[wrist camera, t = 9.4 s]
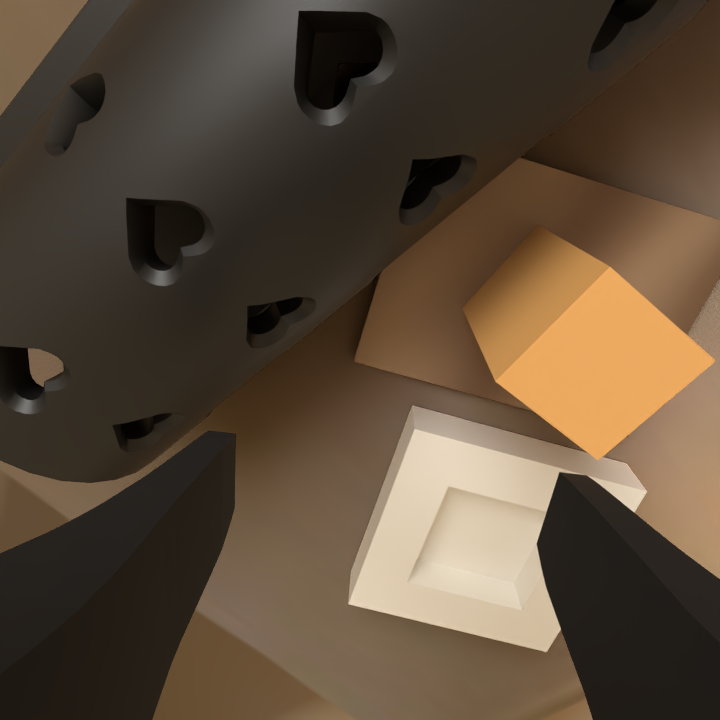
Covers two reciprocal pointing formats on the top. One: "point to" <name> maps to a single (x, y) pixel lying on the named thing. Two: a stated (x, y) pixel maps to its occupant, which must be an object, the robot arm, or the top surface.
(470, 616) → the socket block
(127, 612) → the robot arm
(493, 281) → the plug
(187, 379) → the muzzle brake
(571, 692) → the top surface
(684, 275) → the pad
